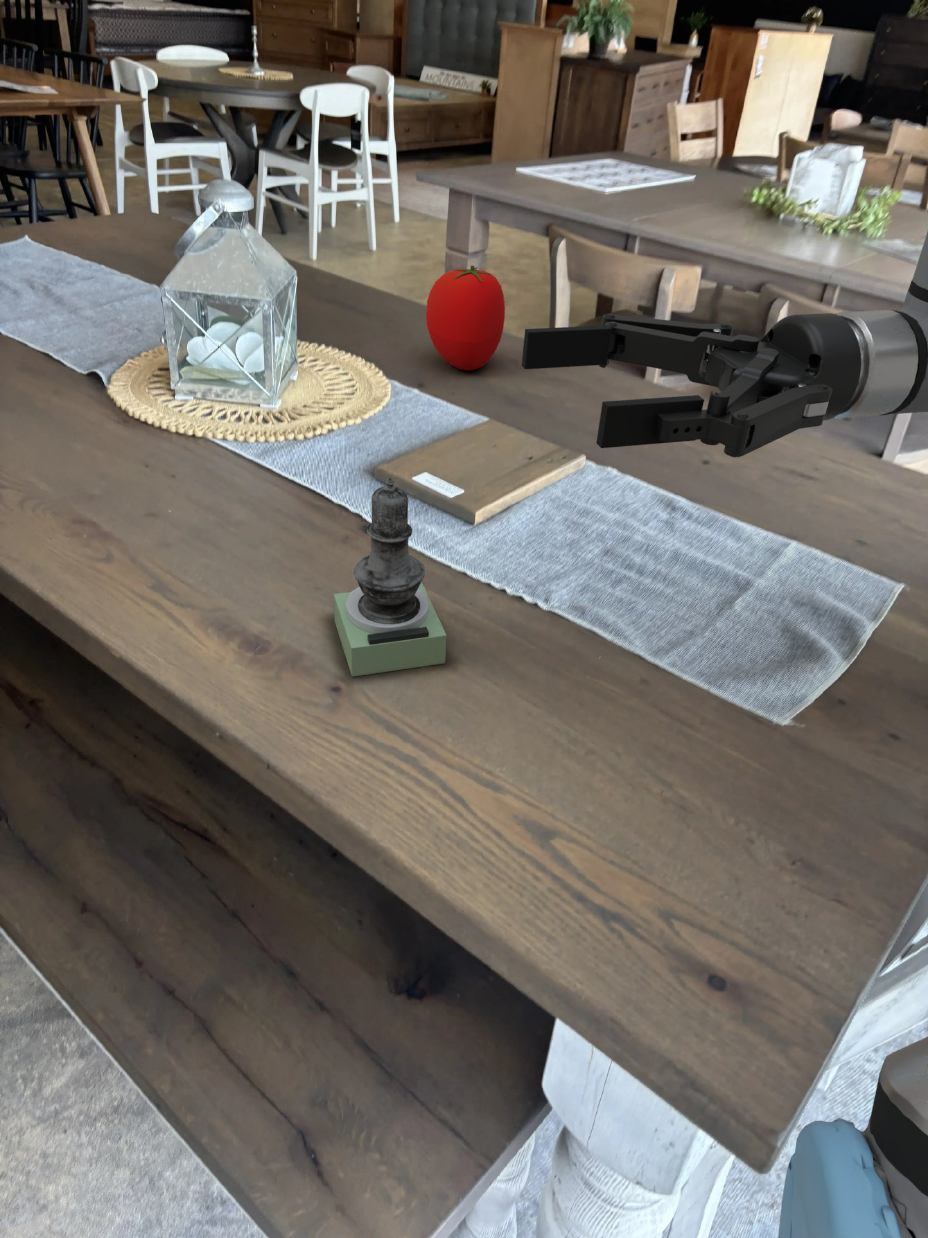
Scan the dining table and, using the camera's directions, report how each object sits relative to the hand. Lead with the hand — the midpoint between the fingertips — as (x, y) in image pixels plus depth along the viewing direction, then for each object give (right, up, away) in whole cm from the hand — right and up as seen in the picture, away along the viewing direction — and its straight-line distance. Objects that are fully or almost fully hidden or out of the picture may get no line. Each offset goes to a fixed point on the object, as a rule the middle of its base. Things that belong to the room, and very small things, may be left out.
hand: (559, 383), depth 60 cm
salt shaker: (-13, -15, +16) cm, 25 cm away
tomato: (-7, +22, +75) cm, 78 cm away
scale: (-13, -18, +19) cm, 29 cm away
